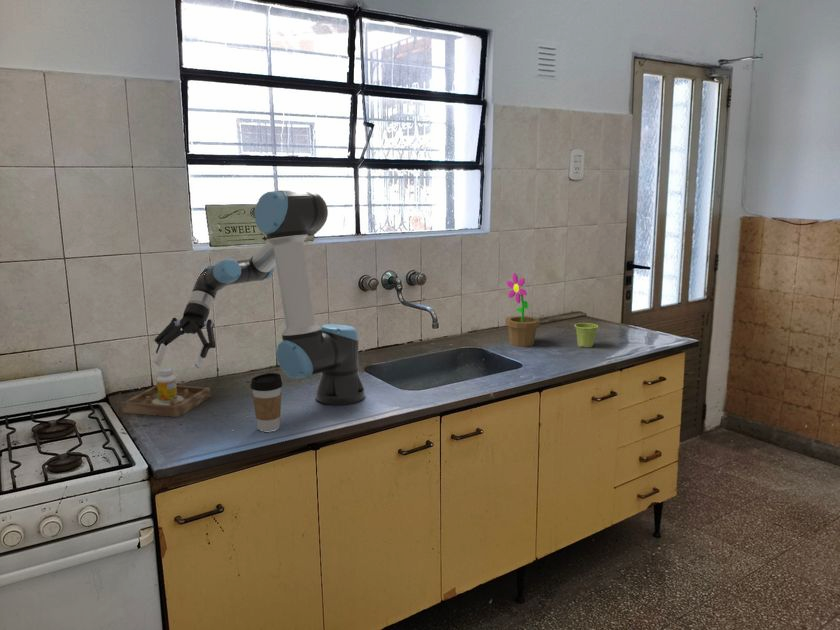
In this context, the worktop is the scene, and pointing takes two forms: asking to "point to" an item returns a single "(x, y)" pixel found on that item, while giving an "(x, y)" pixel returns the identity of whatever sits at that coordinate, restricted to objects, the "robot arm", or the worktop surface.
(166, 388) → the supplement bottle
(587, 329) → the plant pot
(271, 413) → the coffee cup
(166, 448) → the worktop surface
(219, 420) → the worktop surface
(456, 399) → the worktop surface
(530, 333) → the flowerpot
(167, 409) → the pin tray
